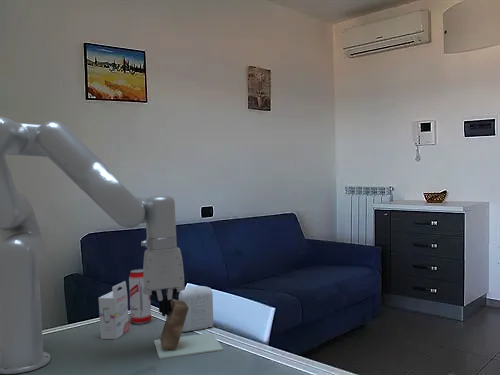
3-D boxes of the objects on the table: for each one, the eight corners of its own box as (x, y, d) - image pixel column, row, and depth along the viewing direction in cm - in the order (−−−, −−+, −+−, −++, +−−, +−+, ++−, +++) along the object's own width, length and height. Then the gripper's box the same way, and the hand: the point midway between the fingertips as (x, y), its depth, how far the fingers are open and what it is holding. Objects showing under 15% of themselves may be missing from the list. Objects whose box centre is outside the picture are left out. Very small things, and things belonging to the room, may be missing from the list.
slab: (162, 347, 125) (175, 304, 125) (160, 339, 131) (172, 298, 132) (176, 350, 126) (188, 307, 126) (172, 341, 132) (184, 301, 133)
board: (159, 359, 121) (159, 357, 121) (153, 341, 134) (153, 340, 134) (223, 350, 125) (223, 348, 125) (211, 334, 139) (211, 332, 139)
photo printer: (210, 324, 149) (208, 283, 149) (215, 327, 145) (214, 285, 145) (177, 329, 144) (175, 287, 144) (182, 333, 141) (180, 290, 140)
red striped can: (145, 318, 158) (143, 268, 158) (155, 321, 154) (152, 270, 153) (127, 322, 154) (125, 270, 154) (136, 326, 150) (134, 273, 149)
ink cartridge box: (113, 329, 147) (111, 280, 147) (129, 330, 146) (127, 280, 146) (99, 339, 139) (97, 286, 138) (116, 339, 138) (113, 286, 137)
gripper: (132, 248, 122) (136, 322, 123) (193, 243, 126) (196, 315, 127) (131, 244, 130) (134, 314, 130) (188, 240, 134) (191, 308, 134)
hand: (165, 314), depth 128 cm, fingers closed
